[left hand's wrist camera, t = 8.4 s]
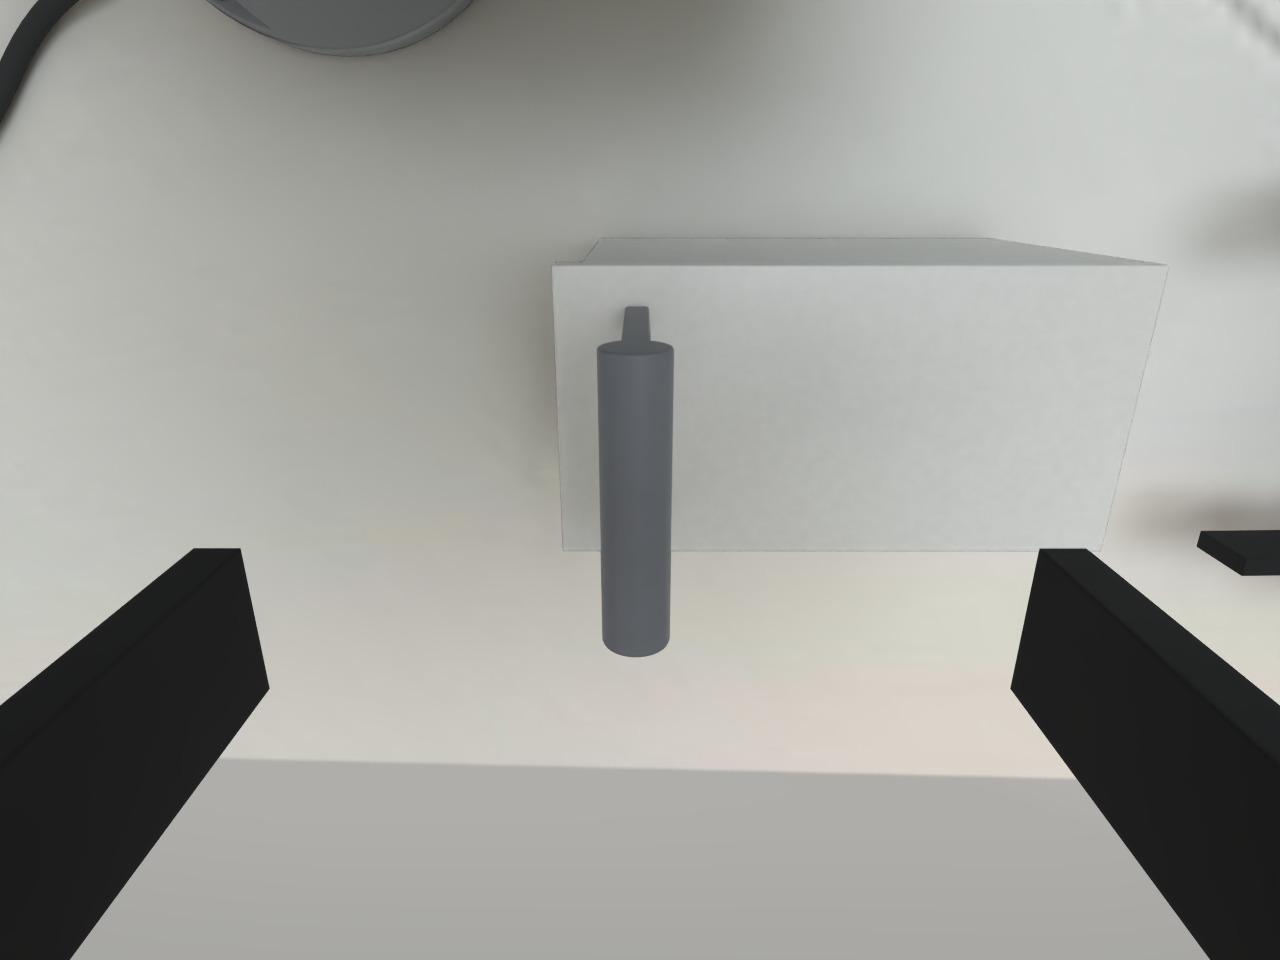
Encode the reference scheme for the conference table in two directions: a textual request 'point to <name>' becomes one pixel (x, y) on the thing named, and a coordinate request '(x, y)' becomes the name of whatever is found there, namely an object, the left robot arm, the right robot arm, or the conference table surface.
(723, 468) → the lid
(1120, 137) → the conference table surface
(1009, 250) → the chest
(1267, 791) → the left robot arm
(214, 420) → the conference table surface
